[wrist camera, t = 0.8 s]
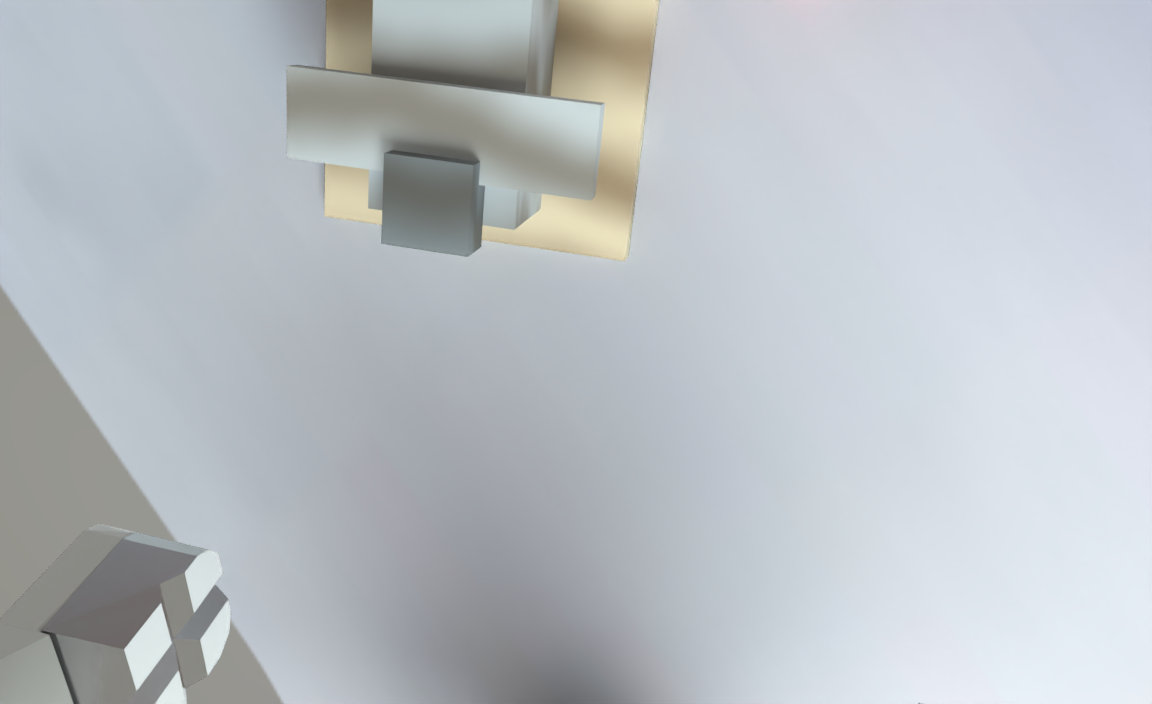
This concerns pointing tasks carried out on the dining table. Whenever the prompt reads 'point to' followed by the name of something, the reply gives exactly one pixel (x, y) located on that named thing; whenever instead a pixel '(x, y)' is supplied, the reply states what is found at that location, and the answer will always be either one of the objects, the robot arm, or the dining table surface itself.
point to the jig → (480, 120)
